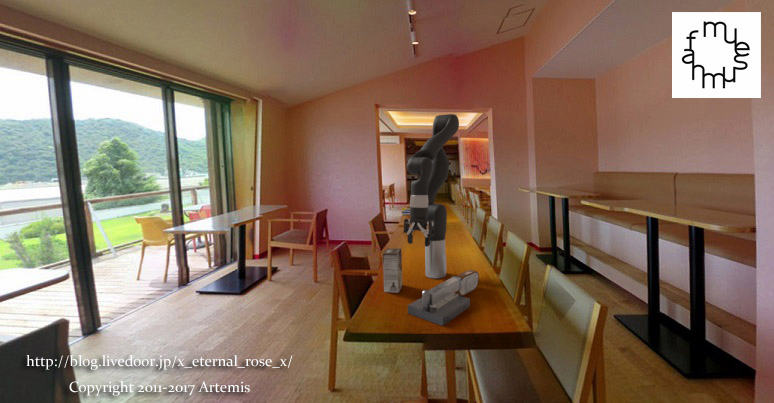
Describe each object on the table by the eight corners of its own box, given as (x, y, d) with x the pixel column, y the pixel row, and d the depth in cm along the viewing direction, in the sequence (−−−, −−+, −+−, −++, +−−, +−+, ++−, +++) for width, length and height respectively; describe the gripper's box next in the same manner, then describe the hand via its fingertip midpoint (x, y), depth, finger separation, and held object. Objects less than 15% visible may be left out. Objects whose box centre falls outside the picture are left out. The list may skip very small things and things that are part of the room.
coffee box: (388, 284, 139) (386, 247, 138) (402, 284, 138) (401, 248, 136) (383, 292, 131) (382, 253, 129) (399, 293, 129) (398, 254, 128)
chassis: (436, 296, 124) (436, 273, 123) (469, 306, 115) (469, 281, 114) (407, 313, 111) (406, 287, 110) (442, 326, 102) (442, 297, 101)
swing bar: (432, 306, 107) (432, 294, 106) (424, 303, 109) (424, 291, 108) (461, 288, 121) (461, 278, 121) (453, 286, 123) (453, 276, 123)
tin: (473, 286, 134) (473, 266, 133) (480, 288, 132) (480, 268, 131) (452, 296, 124) (452, 275, 123) (459, 299, 122) (459, 277, 121)
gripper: (438, 206, 131) (438, 246, 132) (411, 204, 140) (410, 241, 141) (428, 207, 125) (427, 248, 126) (400, 205, 135) (399, 243, 136)
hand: (418, 244), depth 134 cm, fingers open, 8 cm apart
